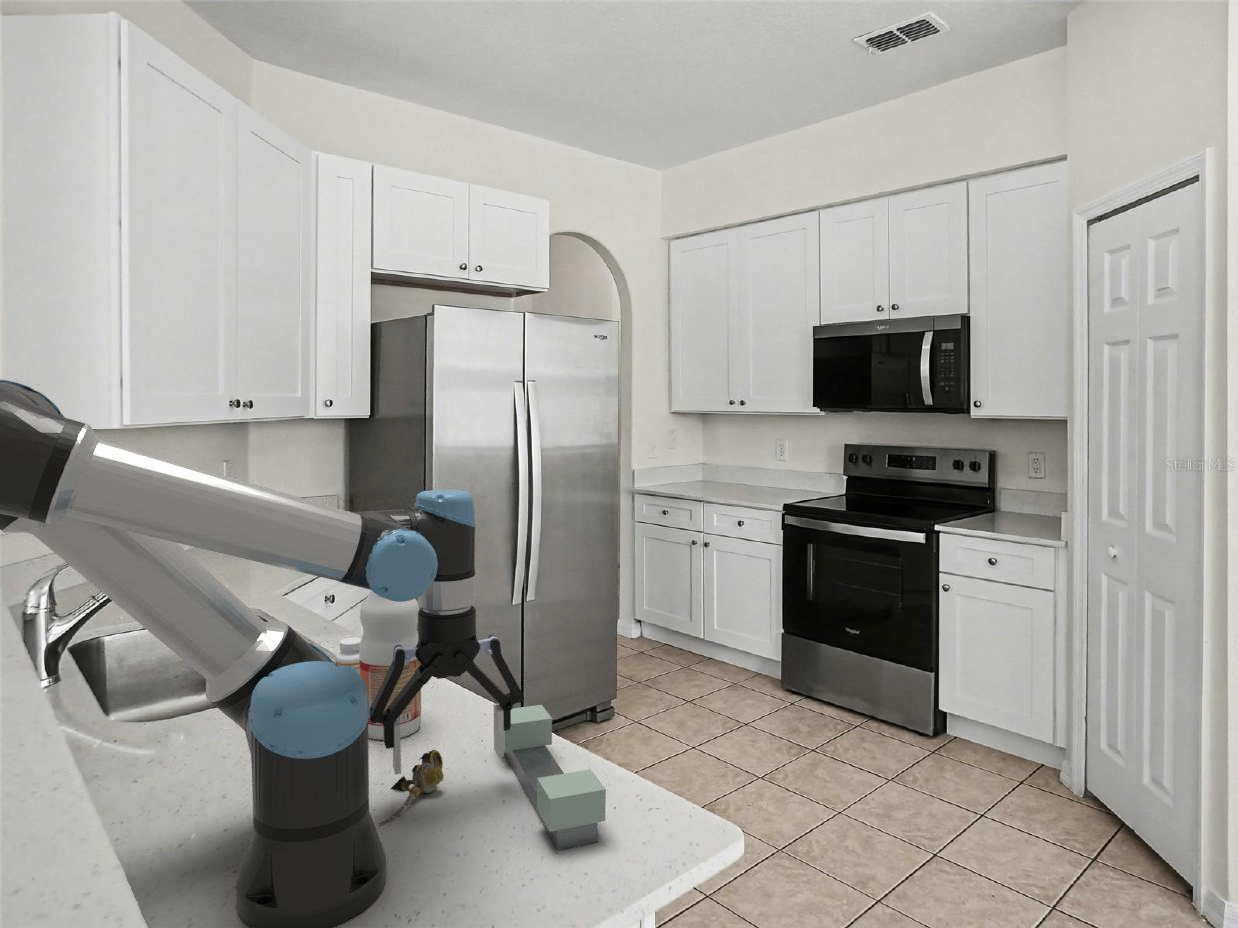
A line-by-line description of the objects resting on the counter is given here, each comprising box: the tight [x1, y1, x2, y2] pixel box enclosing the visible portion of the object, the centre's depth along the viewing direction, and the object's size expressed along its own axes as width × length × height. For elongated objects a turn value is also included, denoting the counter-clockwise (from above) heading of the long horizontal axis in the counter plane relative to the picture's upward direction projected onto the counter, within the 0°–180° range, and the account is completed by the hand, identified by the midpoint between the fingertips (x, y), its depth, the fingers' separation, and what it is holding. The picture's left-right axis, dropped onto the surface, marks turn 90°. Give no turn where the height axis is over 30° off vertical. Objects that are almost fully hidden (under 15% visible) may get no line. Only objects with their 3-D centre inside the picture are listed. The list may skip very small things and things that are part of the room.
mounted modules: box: [504, 704, 607, 832], centre depth 108 cm, size 7×28×4 cm, turn 21°
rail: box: [504, 745, 599, 851], centre depth 108 cm, size 5×28×2 cm, turn 21°
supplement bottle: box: [335, 636, 362, 674], centre depth 142 cm, size 5×5×10 cm
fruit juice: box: [359, 590, 422, 741], centre depth 127 cm, size 9×9×28 cm
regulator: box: [378, 749, 444, 827], centre depth 106 cm, size 8×4×15 cm
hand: (449, 761), depth 107 cm, fingers open, 13 cm apart
